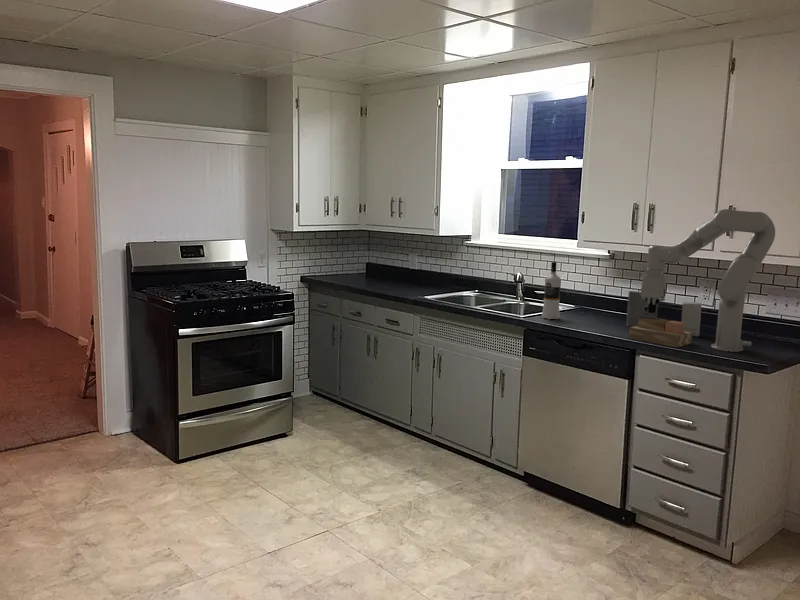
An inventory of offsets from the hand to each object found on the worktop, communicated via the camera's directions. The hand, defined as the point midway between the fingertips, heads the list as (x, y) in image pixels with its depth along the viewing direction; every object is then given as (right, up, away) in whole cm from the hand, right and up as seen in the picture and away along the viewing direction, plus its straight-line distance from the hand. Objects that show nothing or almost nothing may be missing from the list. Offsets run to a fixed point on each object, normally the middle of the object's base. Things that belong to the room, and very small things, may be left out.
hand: (651, 312), depth 311 cm
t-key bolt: (-2, -2, +3) cm, 4 cm away
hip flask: (+5, -8, +29) cm, 31 cm away
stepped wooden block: (+3, -13, -2) cm, 13 cm away
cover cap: (+7, -9, -7) cm, 13 cm away
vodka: (-35, -4, +49) cm, 61 cm away
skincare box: (+23, -11, +14) cm, 29 cm away
